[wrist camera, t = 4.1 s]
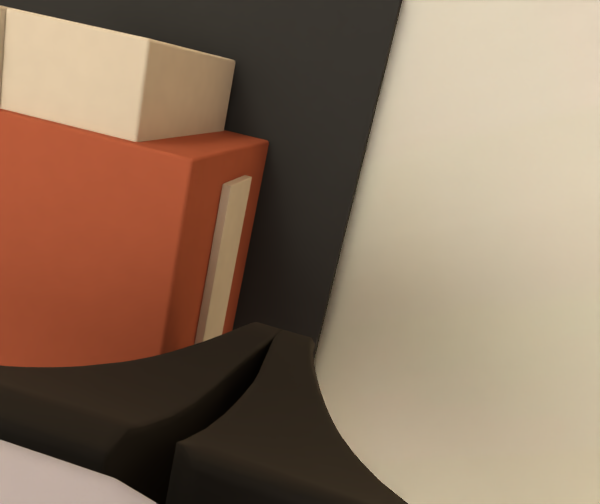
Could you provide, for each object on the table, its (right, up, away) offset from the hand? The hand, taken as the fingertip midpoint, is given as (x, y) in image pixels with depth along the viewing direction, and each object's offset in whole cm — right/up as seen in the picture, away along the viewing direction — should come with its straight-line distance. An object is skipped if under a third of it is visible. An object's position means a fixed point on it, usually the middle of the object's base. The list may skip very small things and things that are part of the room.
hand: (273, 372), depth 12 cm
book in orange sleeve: (-4, +2, +5) cm, 6 cm away
